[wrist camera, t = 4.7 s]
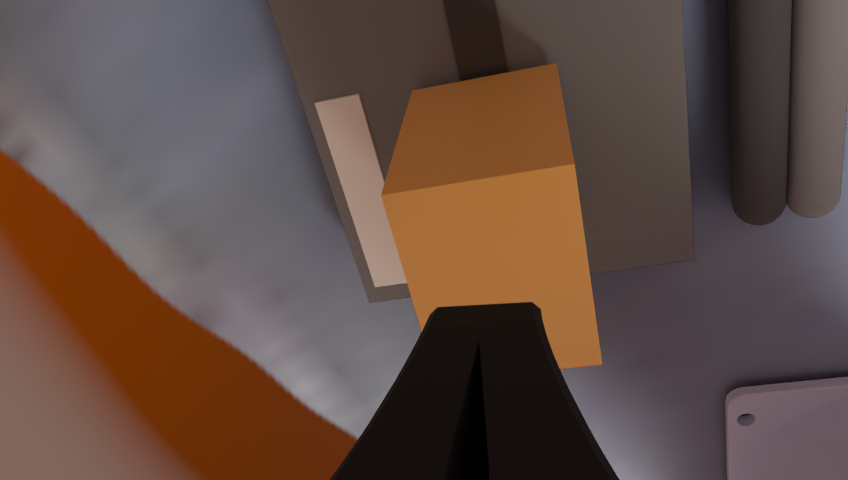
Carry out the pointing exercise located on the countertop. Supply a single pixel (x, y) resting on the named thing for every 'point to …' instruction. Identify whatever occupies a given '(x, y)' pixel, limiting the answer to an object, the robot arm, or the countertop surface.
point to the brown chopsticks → (787, 106)
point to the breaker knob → (494, 205)
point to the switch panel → (489, 55)
